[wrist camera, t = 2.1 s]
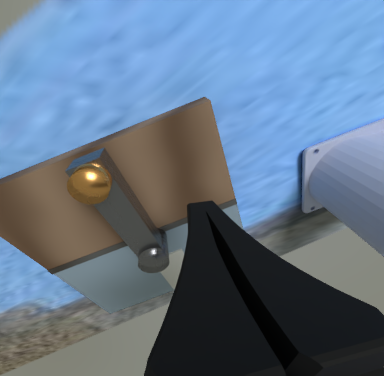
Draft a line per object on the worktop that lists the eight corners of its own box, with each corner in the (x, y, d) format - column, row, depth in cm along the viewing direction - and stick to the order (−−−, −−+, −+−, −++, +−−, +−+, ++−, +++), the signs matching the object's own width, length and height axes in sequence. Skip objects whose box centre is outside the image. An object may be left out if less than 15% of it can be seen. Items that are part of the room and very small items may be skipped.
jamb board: (204, 96, 13) (210, 100, 12) (230, 193, 18) (237, 204, 17) (-30, 190, 14) (-48, 204, 13) (59, 259, 19) (52, 274, 18)
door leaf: (230, 193, 18) (237, 204, 17) (246, 251, 24) (252, 263, 22) (59, 259, 19) (51, 275, 18) (112, 301, 24) (109, 315, 23)
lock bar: (170, 240, 18) (174, 272, 15) (147, 250, 18) (146, 282, 15) (109, 142, 12) (98, 164, 9) (74, 156, 12) (53, 182, 10)
